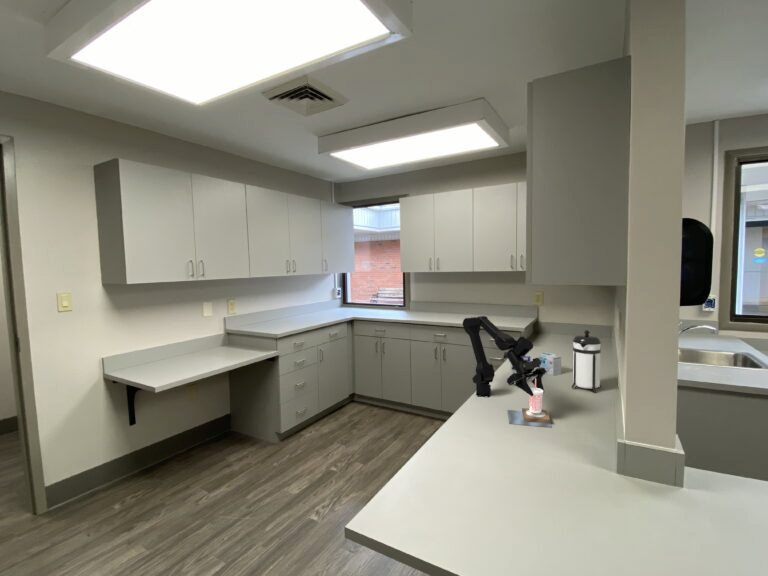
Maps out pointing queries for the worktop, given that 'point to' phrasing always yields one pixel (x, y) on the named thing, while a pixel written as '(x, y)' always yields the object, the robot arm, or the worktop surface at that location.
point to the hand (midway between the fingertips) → (538, 394)
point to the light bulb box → (550, 363)
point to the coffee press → (586, 361)
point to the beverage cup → (535, 400)
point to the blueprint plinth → (519, 419)
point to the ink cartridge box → (524, 359)
